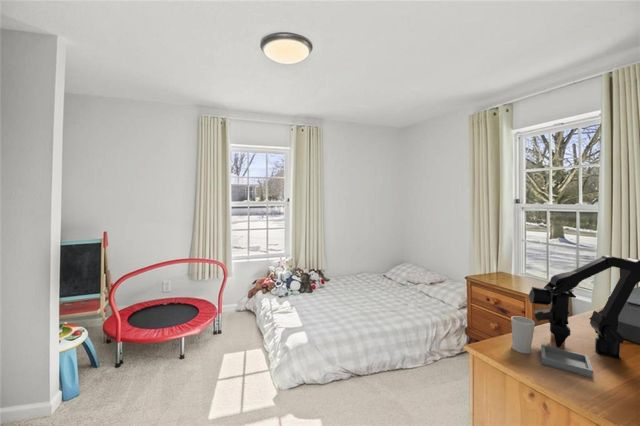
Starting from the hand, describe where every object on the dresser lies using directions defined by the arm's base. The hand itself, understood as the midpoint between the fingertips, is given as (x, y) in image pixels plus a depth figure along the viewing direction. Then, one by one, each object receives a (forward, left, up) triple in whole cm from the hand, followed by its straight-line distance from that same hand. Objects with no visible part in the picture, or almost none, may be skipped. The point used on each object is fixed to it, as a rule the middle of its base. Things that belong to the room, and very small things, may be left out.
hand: (557, 343), depth 126 cm
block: (0, 0, -1) cm, 1 cm away
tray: (-2, +15, -1) cm, 16 cm away
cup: (+12, +13, -1) cm, 18 cm away
